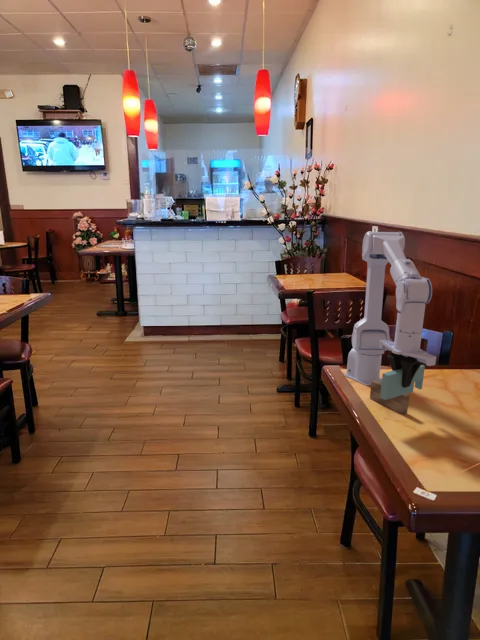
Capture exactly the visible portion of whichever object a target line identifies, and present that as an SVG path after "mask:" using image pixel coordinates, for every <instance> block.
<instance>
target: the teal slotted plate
mask: <svg viewBox="0 0 480 640" xmlns="http://www.w3.org/2000/svg"><path fill="white" fill-rule="evenodd" d="M425 368H426V367H425V365H424V364H422V365H421V366H420V367H419V369H418V370H417V372H416V373H415V375H414V377H413V379H412V382H411V384H410V386H409V387H406V388H404V387H402V369H398V370H394V371H391V370H390V371H386V372H384V373H382V376H381V378H382V382H381V383H382V385H381V394H380V398H382V399H385V400H387V399H390V398H394V397H397V396H400V395H403V394H410V393H412V392H414V389H415V388H416V389H418V390H422V389H423V383H424V377H425V370H426V369H425Z"/></svg>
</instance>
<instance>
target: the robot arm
mask: <svg viewBox="0 0 480 640" xmlns="http://www.w3.org/2000/svg"><path fill="white" fill-rule="evenodd" d="M405 245H406V238H405V235H404V233H403V232H402V231H397V232H396V231H371V230H369V231H367V232H365V234H364V236H363V239H362V251H361V257H362V260H363V261H365V262H366V263H367V264H366V265H367V269H366V270H367V271H366V284H365V300H364V301H365V302H364V303H365V304H364V314H363V318H362V319H360V320H359V321H357V322H356V323H354V326H353V329H352V330H353V331H352V333H351V345H352V346H351V347H352V348H351V350H350V351H349V352H348V354H347V355H348V356H347V363H346V365H347V366H346V373H345V374H344V377H347V378H349V379H351V380H353V381H355V382H356V383H360V384H362V385H364V386H367V387H369V386H371V381H374V380H377V381H379V382H381V383H382V376H381V365H382V356H383V354H385V352H386V351H390V352H391V353H389V354H387V357H386V358H387V360H388V362H389V365H390V367H391V370H392V371H394V370H398V369H402V387H404V388H406V387H409V386H410V384H411V382H412V379H413V377H414V375H415V373H416V372H417V370H418V369H419V367H420V366H421V365H424V364H425V365H426V366H427V367H431V366H436V362H437V356H436V355H433V354H430V353H428V352H427V351H425V350H423V349H422V348H421V344H422V343H421V342H422V335H423V327H424V319H425V309H426V305H427V304H429V303H430V302H431V299H432V296H433V284H432V282H431V280H430V278H428V277H424V276H421V274H420V273H419V271H418V269H417V267H416V265H415V263H414V261H412V260H411V259H410V258H407V257H406V255H405V252H404V250H405ZM388 263H389V264H390V265H391V266H390V268H389V273H390V276H391V278H392V280H393V282H394V284H395V286H396V288H395V299H396V303H395V304H396V305H395V307H396V310H397V313H396V324H395V333H394V341H392V340H390V339H391V337H390V328H389V326H388V324H387V323H386V322H384V321H383V320H382V315H383V313H382V312H383V303H384V302H383V299H384V289H385V288H384V287H385V286H384V285H385V273H386V266H387V264H388ZM380 376H381V377H380Z"/></svg>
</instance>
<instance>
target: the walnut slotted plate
mask: <svg viewBox="0 0 480 640" xmlns="http://www.w3.org/2000/svg"><path fill="white" fill-rule="evenodd" d="M381 385H382V382H379V381H377V380H374V381H371V385H370V391H369V399H370V400H372V401H374V402H376V403H379V404H380V405H383V407H384V406H385V407H386V408H389V409H390V410H392V411H395V412H396V413H399V414H401V415H406V414H408V410H409V409H408V408H409V402H410V394H409V393H407V394H403V395H400V396H397V397H394V398H390V399H387V400H385V399H382V398H380V394H381Z"/></svg>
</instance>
